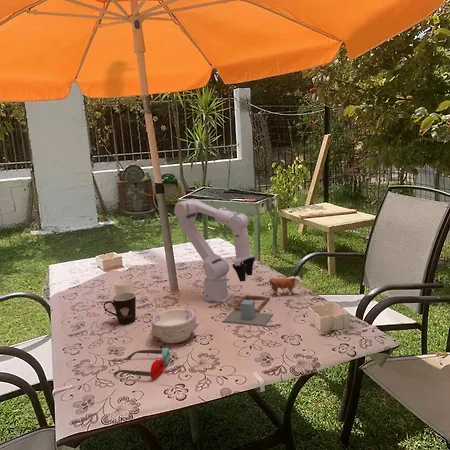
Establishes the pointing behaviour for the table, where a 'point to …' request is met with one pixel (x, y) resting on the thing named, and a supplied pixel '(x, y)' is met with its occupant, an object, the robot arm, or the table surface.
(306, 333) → the table surface
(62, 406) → the table surface
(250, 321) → the rubber mat
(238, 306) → the pocket frame
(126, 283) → the white cup
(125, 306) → the coffee mug
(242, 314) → the blue block
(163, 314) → the white round bowl
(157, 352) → the novelty glasses
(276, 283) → the bull figurine
